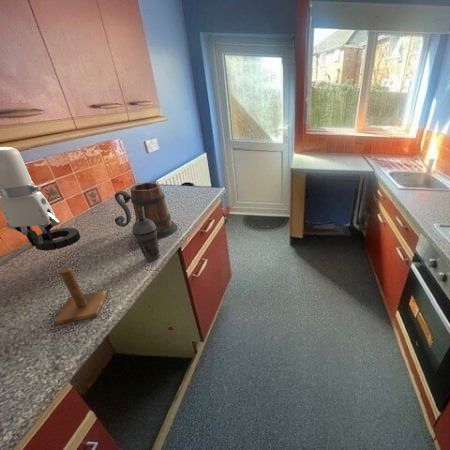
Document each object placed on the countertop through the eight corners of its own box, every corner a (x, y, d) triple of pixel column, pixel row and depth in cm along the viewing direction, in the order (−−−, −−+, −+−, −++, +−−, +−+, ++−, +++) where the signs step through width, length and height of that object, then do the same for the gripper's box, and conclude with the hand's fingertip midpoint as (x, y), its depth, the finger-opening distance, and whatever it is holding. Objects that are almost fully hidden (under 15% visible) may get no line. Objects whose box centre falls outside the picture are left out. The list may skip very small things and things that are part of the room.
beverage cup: (139, 256, 91) (123, 206, 82) (160, 249, 95) (148, 201, 86) (143, 266, 86) (127, 214, 77) (166, 258, 90) (153, 208, 81)
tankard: (182, 221, 117) (174, 179, 107) (170, 239, 102) (159, 193, 93) (129, 221, 114) (116, 179, 105) (108, 241, 99) (90, 193, 90)
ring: (28, 252, 78) (24, 246, 77) (46, 235, 87) (43, 229, 86) (72, 247, 81) (69, 241, 80) (85, 232, 91) (83, 226, 90)
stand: (55, 324, 64) (32, 285, 58) (71, 300, 71) (51, 262, 65) (97, 316, 67) (79, 278, 60) (108, 293, 74) (92, 257, 68)
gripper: (57, 185, 80) (77, 234, 89) (-10, 187, 75) (18, 240, 83) (45, 193, 74) (68, 245, 82) (-29, 196, 69) (3, 252, 77)
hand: (42, 242), depth 83 cm, fingers closed on ring, 2 cm apart
